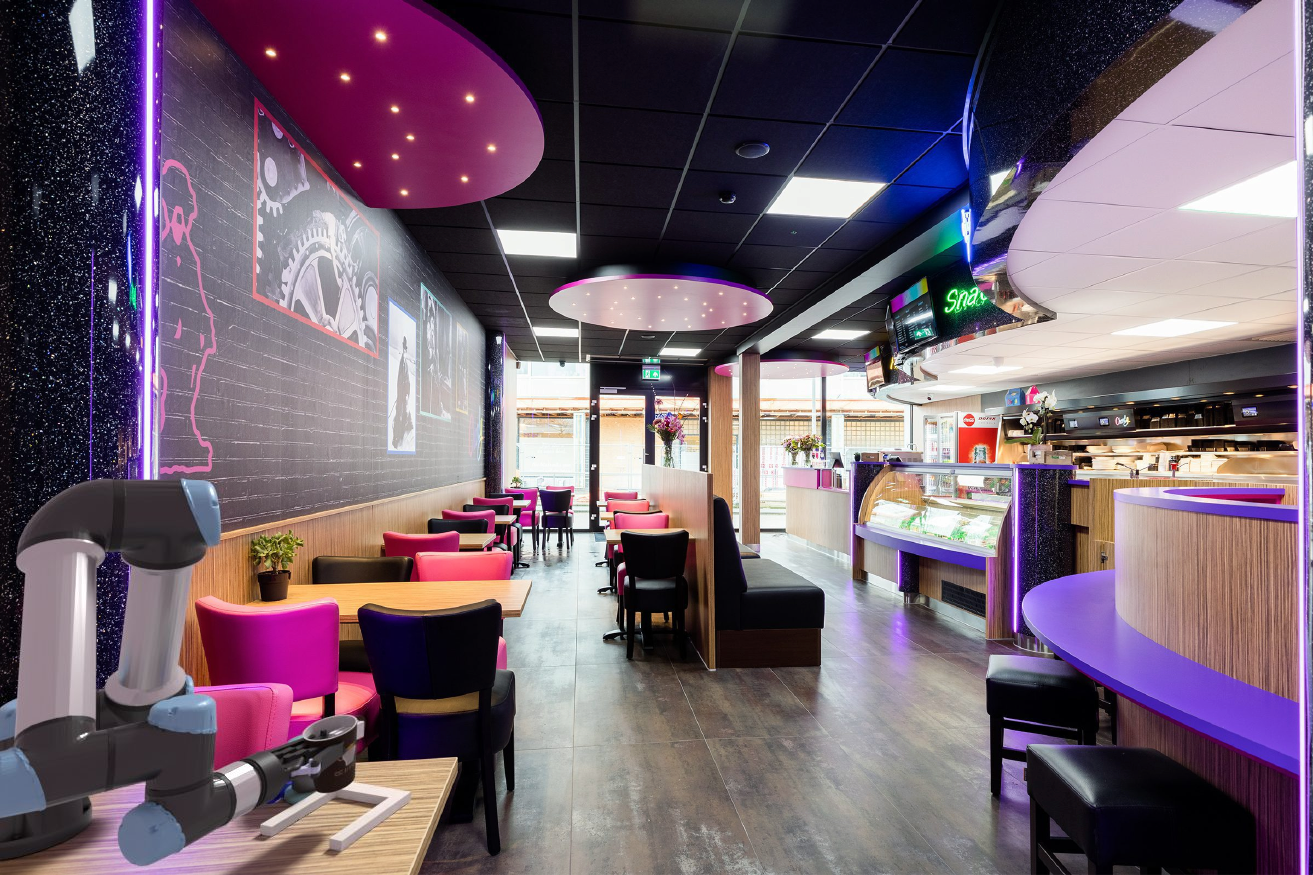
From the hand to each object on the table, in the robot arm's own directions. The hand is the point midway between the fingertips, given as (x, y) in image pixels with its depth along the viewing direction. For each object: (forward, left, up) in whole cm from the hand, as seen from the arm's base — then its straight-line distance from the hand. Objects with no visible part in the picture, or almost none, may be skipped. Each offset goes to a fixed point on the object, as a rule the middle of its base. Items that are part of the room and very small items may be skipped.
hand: (359, 728), depth 117 cm
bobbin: (-12, +1, -14) cm, 19 cm away
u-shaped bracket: (0, -4, -14) cm, 15 cm away
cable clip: (-19, +2, -14) cm, 24 cm away
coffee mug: (+1, -4, -7) cm, 8 cm away
